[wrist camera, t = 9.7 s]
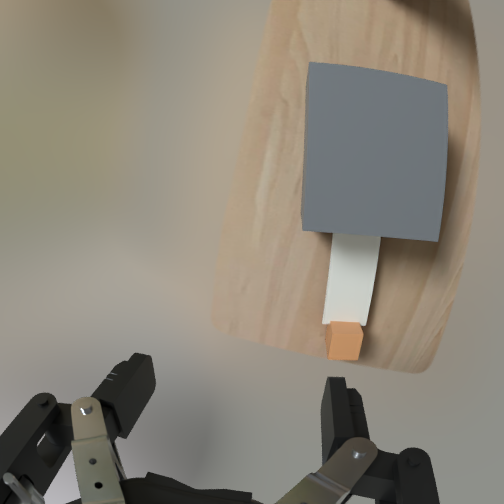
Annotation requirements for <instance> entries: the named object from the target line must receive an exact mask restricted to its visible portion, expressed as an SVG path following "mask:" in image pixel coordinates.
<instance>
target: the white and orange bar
mask: <svg viewBox="0 0 504 504" xmlns="http://www.w3.org/2000/svg"><path fill="white" fill-rule="evenodd" d="M380 240H381V237H379V236H367V235H354V234H342V233H333V236H332V246H331V256H330V265H329V273H328V282H327V290H326V297H325V305H324V312H323V319H322V324H328V325H327V332H326V338H325V341H326V349H327V357H328V359H330V360H358V356H359V352H360V348H361V344H362V339H363V335H364V334H363V331H362V328H361V326H366V322H367V317H368V312H369V307H370V302H371V297H372V292H373V286H374V280H375V274H376V268H377V261H378V255H379V248H380Z"/></svg>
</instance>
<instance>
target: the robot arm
mask: <svg viewBox="0 0 504 504" xmlns="http://www.w3.org/2000/svg"><path fill="white" fill-rule="evenodd" d="M155 386H156V379H155V374H154V368H153V363H152V358H151V356H150V355H145V354H139V353H134V354H133V355H132V356H131V358H130V359H129V360H128V361H122V362H121V363H119V364H117V365H116V366H115V367H114V368H113V370H112V371H111V372H110V374H108V375H107V377H106V379H104V380H103V382H102V383H101V384H100V385H99V387H98V388H97V389H96V390H95V392H94V393H93V394H92V396H90V397H82V398H79V399H77V400H76V401H74V402H73V404H64V403H57V401H56V398H55V397H54V395H52V394H50V393H39V394H37V395H35V396H34V397H33V398H32V399H31V400H30V401H29V402H28V403H27V405H26V406H25V407H24V408H23V409H22V410H21V412H20V413H19V414H18V415H17V416H16V418H15V419H14V420H13V421H12V422H11V424H10V425H9V426H8V427H7V428H6V430H5V431H4V432H3V433H2V435H1V436H0V504H45V501H44V498H43V496H44V495H45V493H46V491H47V489H48V488H49V486H50V484H51V482H52V481H53V479H54V478H55V476H56V474H57V473H58V471H59V469H60V468H61V466H62V464H63V463H64V461H65V459H66V458H67V456H68V454H69V453H70V451H71V450H72V453H73V459H74V465H75V471H76V476H77V481H78V487H79V491H80V496H81V498H79V499H77V500H74V501H72V502H69V503H66V504H263V503H260V502H258V501H256V500H253V499H252V493H251V492H243V491H235V490H228V489H208V490H207V489H205V490H199V489H194V488H192V487H190V486H187V485H185V484H183V483H181V482H179V481H177V480H175V479H173V478H169V477H165V476H162V475H158V474H154V473H151V472H148V473H147V475H146V477H145V478H130V479H127V478H126V475H125V473H124V469H123V466H122V463H121V460H120V456H119V453H118V450H117V447H116V443H115V439H116V438H117V436H119V437H122V438H124V439H126V438H127V437H128V435H129V433H130V432H131V430H132V428H133V426H134V425H135V423H136V421H137V420H138V418H139V416H140V414H141V413H142V411H143V409H144V408H145V406H146V404H147V403H148V401H149V399H150V398H151V396H152V394H153V393H154V390H155ZM321 432H322V467H321V468H320V469H319V470H318V471H317V472H316V473H310V474H308V475H307V476H306V477H305V478H303V479H302V480H301V481H300V482H299V483H298V484H297V485H296V486H295V487H294V488H293V489H291V490H290V491H289V492H288V493H287V494H285V495H284V496H283V497H282V498H281V499H280V500H278V501H277V502H276V503H275V504H347V503H348V501H349V500H350V499H351V498H352V497H353V496H354V495H358V496H362V497H367V498H372V499H375V504H440V503H439V497H438V492H437V487H436V482H435V478H434V473H433V469H432V465H431V460H430V457H429V455H428V454H427V453H426V452H425V451H423V450H422V449H419V448H407V449H405V450H403V451H402V452H400V454H394V453H389V452H384V451H381V450H379V449H378V448H377V447H376V445H375V444H374V443H373V442H372V441H370V437H369V432H368V427H367V421H366V417H365V414H364V407H363V402H362V397H361V395H360V394H359V393H358V392H357V390H356V389H355V388H354V389H353V388H352V389H350V388H347V387H346V381H345V378H344V377H328V378H327V381H326V385H325V391H324V395H323V399H322V404H321ZM44 433H45V437H44V438H43V439H42V441H41V442H40V444H39V445H38V446H37V444H38V442H39V440H40V439H41V438H42V436H43V435H44Z"/></svg>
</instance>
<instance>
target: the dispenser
mask: <svg viewBox="0 0 504 504" xmlns="http://www.w3.org/2000/svg"><path fill="white" fill-rule="evenodd" d="M447 150H448V94H447V85H445V84H441V83H438V82H434V81H430V80H426V79H421V78H417V77H413V76H408V75H403V74H398V73H393V72H387V71H382V70H375V69H369V68H362V67H355V66H347V65H338V64H328V63H316V62H309V67H308V75H307V82H306V106H305V139H304V164H303V184H302V202H301V219H302V229H303V231H314V232H328V233H342V234H354V235H367V236H379V237H391V238H402V239H413V240H424V241H435V242H438V239H439V232H440V226H441V218H442V211H443V202H444V193H445V182H446V168H447Z"/></svg>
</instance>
